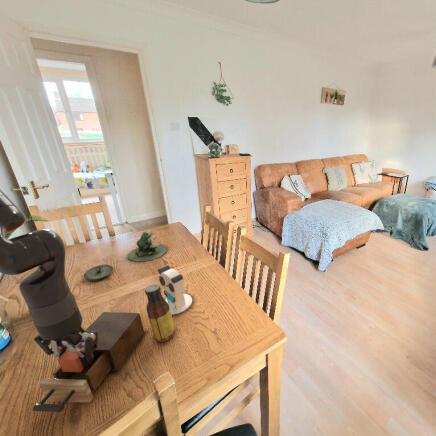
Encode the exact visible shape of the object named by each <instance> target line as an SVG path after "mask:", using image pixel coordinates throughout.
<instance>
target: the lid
mask: <svg viewBox="0 0 436 436" xmlns="http://www.w3.org/2000/svg"><path fill="white" fill-rule="evenodd" d="M113 271H114V267H113V266H112V265H111V264H99V265H96V266H93V267H91V268H89V269H87V270H86V271H85V272H84V274H83V278H84V279H85V280H86V281H90V282H91V281H92V282H94V281H95V282H96V281H100V280H102V279H104V278H106V277H109V276H110V275H111V274H112V272H113Z"/></svg>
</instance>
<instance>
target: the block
mask: <svg viewBox="0 0 436 436" xmlns="http://www.w3.org/2000/svg"><path fill="white" fill-rule="evenodd" d="M76 346H77V345H76ZM76 346H75V347H76ZM81 350H82V351H83V350H84V348H83V347H82V348H81ZM92 357H94V356H93V353H92ZM57 362H58V364H59V366H60V367H61V369H62V371H63V372H81V371H82V370H83V369H84V367H83V366H82V363H81V361H80V359H79V356H78V355H77V354H76V353H72V352H71V351H70V350H69V349H67V350H66V351H65V352H64V353H63V354H62V355H61V356H60V357H59V358H58V357H57Z"/></svg>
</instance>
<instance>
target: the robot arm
mask: <svg viewBox="0 0 436 436" xmlns="http://www.w3.org/2000/svg"><path fill="white" fill-rule="evenodd" d="M26 221H27V217H26V215H25V213H24V212H23V211H22V210H21V209H20V208H19V207H18V206H17V205H16V204H15V203H14V202H13V201H12V199H11V198H10V197H9V196H8V195H7V194H6V193H5V192H4V191H3V190H2V189H1V188H0V274H4V275H6V276H18V275H21V274H24V273H25V272H28V271H31V270H33V269H35V268H36V269H35V270H34V271H33V272H32V273H30V274H29V275H27V276H26V277H25V278H23V279H22V280H21V281H20V283H19V286H18V289H19V291H20V295H22V298H23V300H24V302H25V303H26V306H27V309H28V313H29V316H30V318H31V320H32V322H33V324H34V326H35V329H36V330H37V333H38V334H37V335H36V336H35V337H34V338H33V340H34V342H35V343H36V344H37V345H38V346H39V347H40V348H41V350H42V351H43V352H44V353H45V354H46V355H47V356H52V355H54V357H55V358H57V359H58V358H59V357H60V356H61V355H62V354H63V353H64V352H65V351H66V350H67V348H68V349H69V350H70V351H71V352H72V353H76V354H77V355H78V356H79V359H80V361H81V363H82V366H83V367H87V366H88V365H89V364H90V363H91V362H92V360H93V357H92V353H93V352H94V350H95V349H96V348H97V347H98V333H97V332H96V331H94V332H93V333H92V334H89V333H85V330H86V329H84V328H83V327H82V324H83V316H82V313H81V311H80V308H79V306H78V303H77V301H76V298H75V296H74V294H73V292H72V291H71V288H70V286H69V283H68V281H67V278H66V268H65V267H66V245H65V242H64V240H63V238H62V236H61V235H59V234H58V233H57V232H56V231H54V230H52V229H47V228H43V229H42V228H41V229H36V230H34V231H31V232H28V233H27V232H26V233H24V234H21V235H18V236H14V237H12V238H7V237H6V235H8V234H9V233H11V232H13V231H16V230H17V229H19V228H21V227H22V226H23V225H24V224H25V223H26ZM79 342H80V343H79ZM78 343H79V344H78ZM77 344H78V345H77ZM50 345H51V347H50ZM76 345H77V346H76ZM75 346H76V347H75ZM82 347H83V348H84V350H83V351H82V350H81V348H82Z"/></svg>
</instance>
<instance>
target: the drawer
mask: <svg viewBox="0 0 436 436" xmlns="http://www.w3.org/2000/svg"><path fill="white" fill-rule="evenodd" d="M93 356H94V357H93V360H92V362H91V363H90V364H89V365H88V366H87V367H84V369H83V370H82V371H81V372H63V371H62V369H61V367H60V365H59V366H58V367H57V368H56V369H55V370H54V371H53V372H52V373H51V375H52V377H53V378H42V379H41V381H39V382H38V385H39V386H40V389H41V390H42V392H43V394H44V397H43V398H42V399H41V400H40V402H39V403H35V404H34V406H33V407H32V409H31V410H32V412H38V413H39V412H41V413H43V412H44V413H62V412H63V411H64V409H65V407H66V406H65V405H66V404H67V403H87V404H89V403H91V402H92V401H93V400H94V394H93V393H92V392H96V390H97V389H98V387H99V386H100V385H101V383H102V382H103V381H104V379H105V378H106V376H107V375H108V374H109V373H110V372H111V371H110V370H111V368H112V367H113V366H112V363H111V361H110V358H109V355H108V352H93ZM47 401H48V402H61V403H46V402H47Z"/></svg>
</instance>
